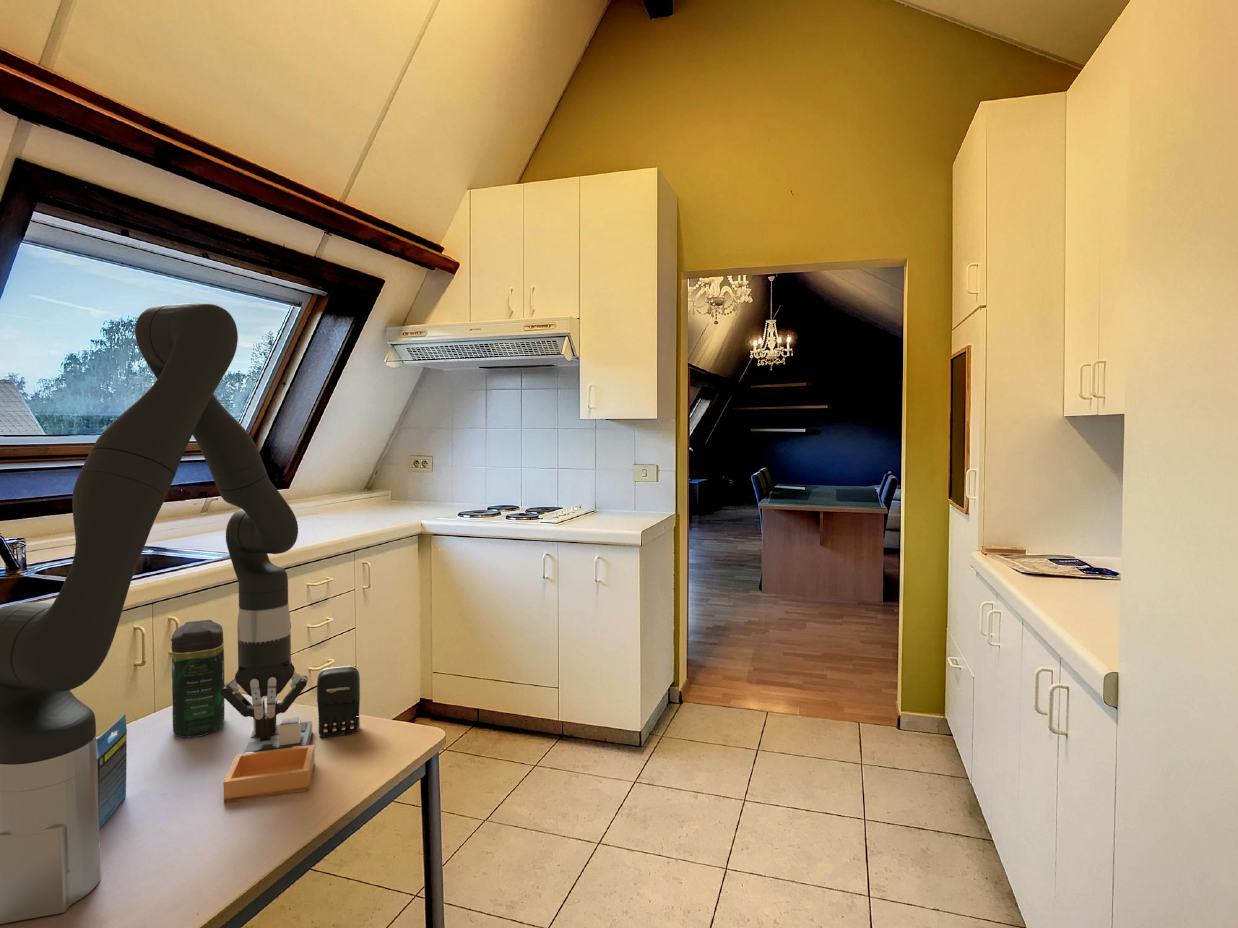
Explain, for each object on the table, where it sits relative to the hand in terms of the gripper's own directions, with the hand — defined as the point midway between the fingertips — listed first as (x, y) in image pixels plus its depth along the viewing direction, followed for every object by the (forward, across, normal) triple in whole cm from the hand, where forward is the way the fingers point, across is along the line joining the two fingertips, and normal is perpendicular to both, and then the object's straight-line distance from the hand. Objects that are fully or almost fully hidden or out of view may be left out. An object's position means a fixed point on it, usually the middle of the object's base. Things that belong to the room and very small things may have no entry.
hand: (266, 738), depth 111 cm
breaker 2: (+1, +3, 0) cm, 4 cm away
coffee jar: (+3, -13, +16) cm, 21 cm away
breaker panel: (+3, +2, +2) cm, 4 cm away
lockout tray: (+3, +2, -9) cm, 9 cm away
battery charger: (+3, +10, +6) cm, 12 cm away
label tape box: (+3, -19, -11) cm, 22 cm away
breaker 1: (+1, -1, +5) cm, 5 cm away
